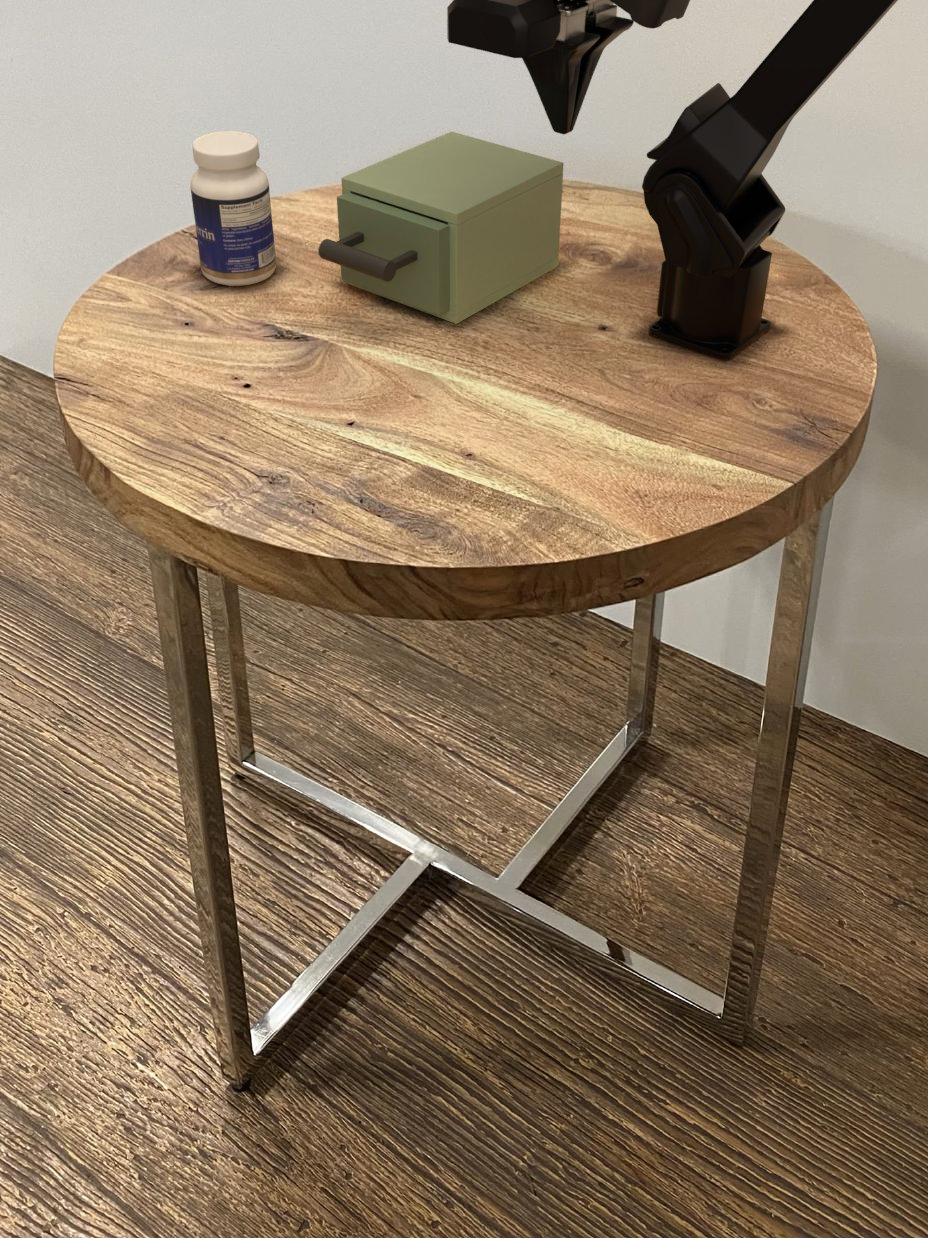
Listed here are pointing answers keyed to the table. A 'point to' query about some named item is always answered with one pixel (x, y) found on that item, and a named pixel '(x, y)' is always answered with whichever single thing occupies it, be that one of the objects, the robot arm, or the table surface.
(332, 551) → the table surface
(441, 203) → the cabinet
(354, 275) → the drawer
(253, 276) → the pill bottle
